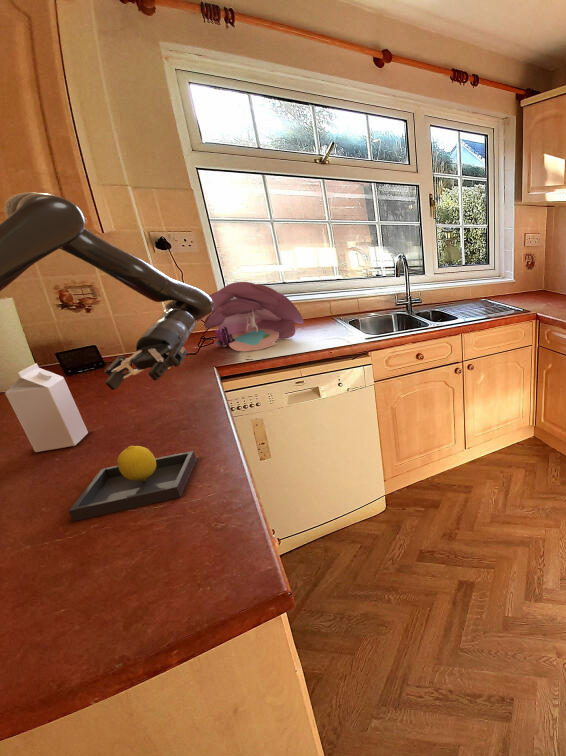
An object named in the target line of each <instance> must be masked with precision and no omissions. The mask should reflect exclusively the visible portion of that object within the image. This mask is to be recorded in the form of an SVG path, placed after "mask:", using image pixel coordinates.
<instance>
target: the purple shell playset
mask: <svg viewBox="0 0 566 756" xmlns="http://www.w3.org/2000/svg"><path fill="white" fill-rule="evenodd" d="M208 296H209V297H210V298H211V299H212V301H213V303H214V309H213V311H212V312H211V313H210V314H208V315H206V316H204V317H202V318H200V319H198V320H196V323H198V322H200V321H201V320H203V319H204V318H205V320H204V322H203V326H204V328H205V329H207V330H208V329H213V328H216V327H217V329H214V334H215V336H216V337H217V339H218V340H216V341H215V342H214V344H215V345H217V346H220V347H221V346H222V347H223V348H226V347H228V346H229V347H230V348H231V349H232V350H234V351H237V352H250V351H251V352H252V351H258V350H263V349H266V348H269V347H272V346H274V345H276V343H277V342H276V341H278V340H279V339H280V340H284V339H290V338H293V337H294V336H295V334H296V324H300V325H305V320H304V318H303V317H304V316H303V315H302V314H301V312H300V311H299V310H298V307H296V306H295V304H294V303H293V302H292V300H290V299H289V298H288V297H287V296H286V295H285V294H283V293H281V292H278V291H277V290H275V289H273V288H272V287H269V286H268V285H264V284H261V283H259V284H258V283H253V282H249V281H236V282H232V283H228V284H227V285H225V286H223V287H222V288H221V289H219V290H218V291H214V292H213V293H211V294H209V295H208ZM295 323H296V324H295Z"/></svg>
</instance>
